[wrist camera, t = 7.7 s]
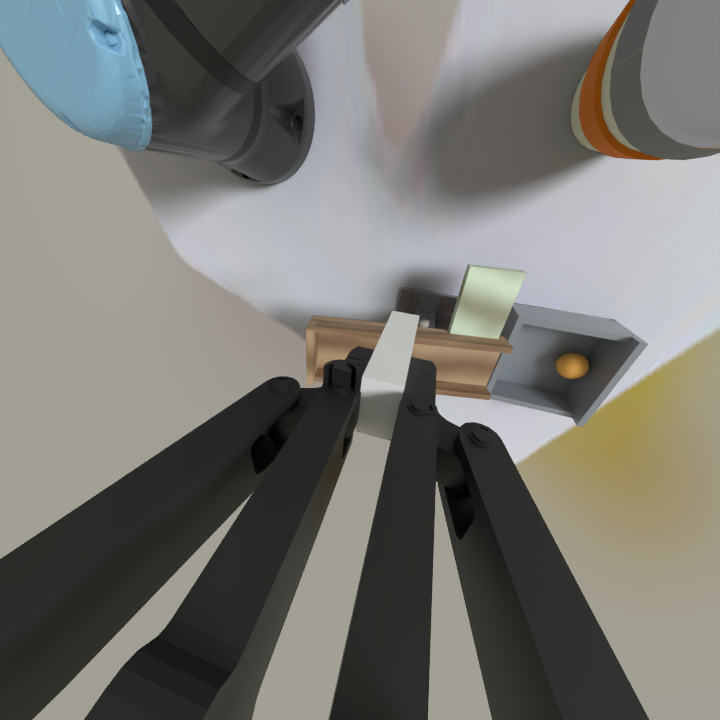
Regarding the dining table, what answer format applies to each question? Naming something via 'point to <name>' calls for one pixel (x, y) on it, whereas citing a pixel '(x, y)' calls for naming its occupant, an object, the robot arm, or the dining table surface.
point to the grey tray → (546, 345)
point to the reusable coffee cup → (654, 83)
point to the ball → (572, 365)
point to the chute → (436, 335)
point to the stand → (428, 306)
